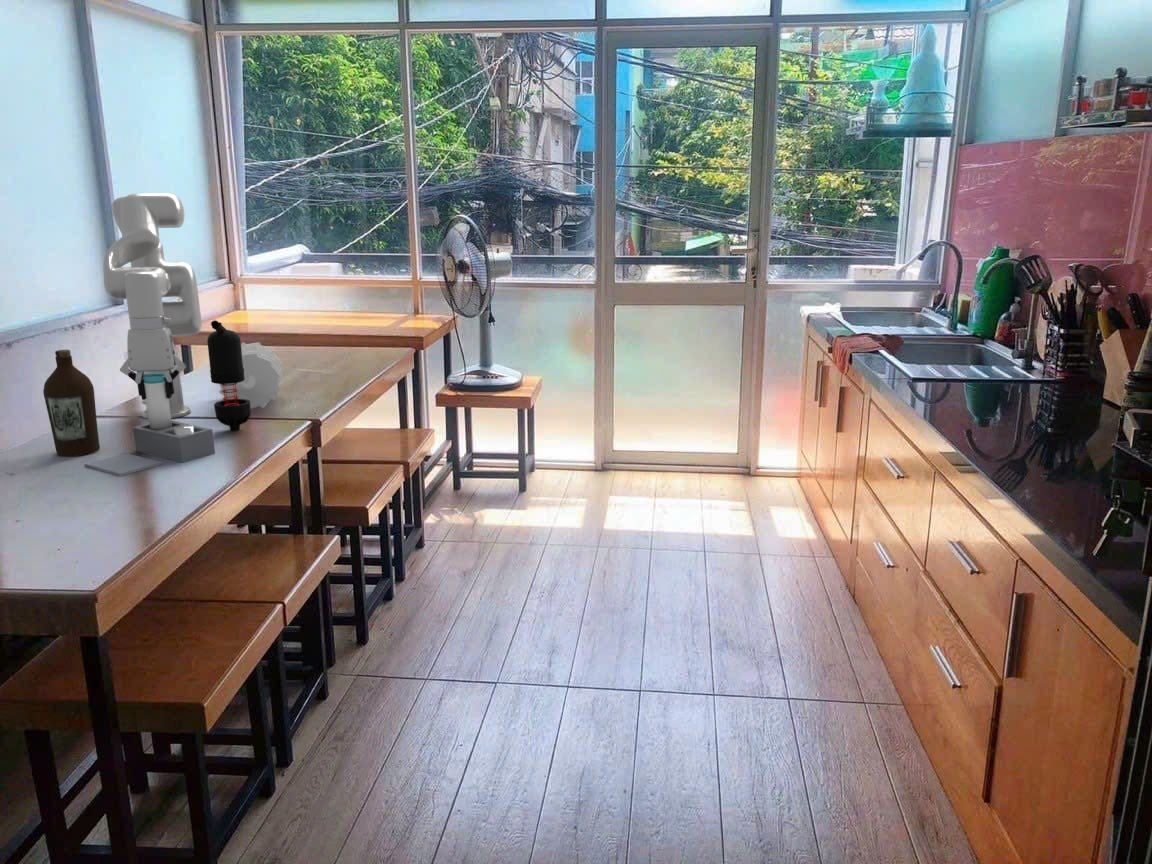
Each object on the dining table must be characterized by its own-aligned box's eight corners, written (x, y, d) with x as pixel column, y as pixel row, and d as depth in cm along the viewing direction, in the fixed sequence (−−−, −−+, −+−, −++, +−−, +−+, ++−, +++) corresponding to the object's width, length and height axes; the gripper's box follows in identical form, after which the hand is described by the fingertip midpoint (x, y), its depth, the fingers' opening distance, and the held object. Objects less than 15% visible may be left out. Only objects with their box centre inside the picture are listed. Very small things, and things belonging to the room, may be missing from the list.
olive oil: (61, 446, 224) (45, 347, 217) (107, 444, 226) (93, 346, 219) (47, 459, 214) (30, 355, 207) (95, 456, 216) (80, 353, 209)
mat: (84, 466, 208) (84, 463, 208) (125, 455, 216) (124, 453, 216) (121, 475, 201) (120, 473, 201) (161, 464, 209) (160, 461, 209)
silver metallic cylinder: (172, 447, 215) (169, 427, 214) (188, 443, 219) (185, 423, 218) (183, 450, 213) (181, 430, 212) (199, 446, 217) (197, 426, 216)
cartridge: (152, 428, 222) (145, 373, 218) (174, 427, 223) (167, 372, 219) (148, 433, 217) (140, 377, 214) (170, 432, 219) (163, 376, 215)
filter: (244, 435, 233) (232, 320, 225) (209, 435, 233) (196, 320, 225) (262, 422, 246) (251, 313, 238) (229, 422, 246) (217, 313, 238)
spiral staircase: (270, 406, 281) (268, 421, 258) (213, 385, 275) (205, 399, 251) (292, 352, 279) (291, 363, 256) (235, 330, 273) (229, 339, 250)
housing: (136, 451, 220) (132, 427, 218) (168, 442, 227) (165, 419, 226) (182, 462, 211) (179, 438, 209) (215, 453, 218) (212, 429, 217)
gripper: (188, 319, 218) (197, 392, 223) (112, 322, 215) (122, 396, 220) (183, 324, 211) (192, 399, 216) (104, 327, 208) (115, 403, 213)
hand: (157, 397), depth 218 cm, fingers closed on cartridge, 5 cm apart
